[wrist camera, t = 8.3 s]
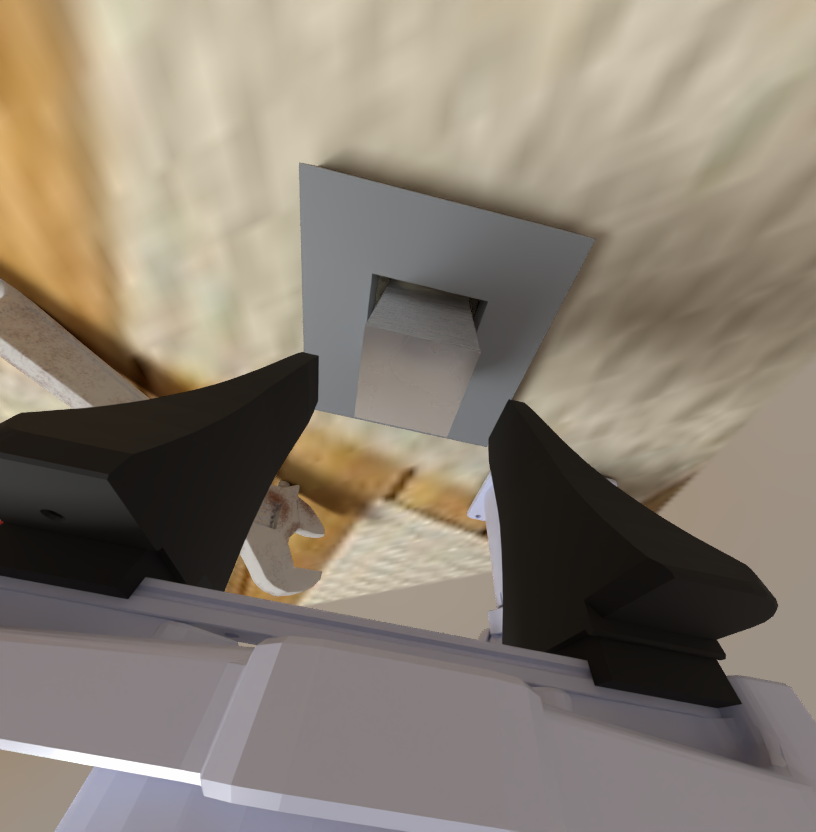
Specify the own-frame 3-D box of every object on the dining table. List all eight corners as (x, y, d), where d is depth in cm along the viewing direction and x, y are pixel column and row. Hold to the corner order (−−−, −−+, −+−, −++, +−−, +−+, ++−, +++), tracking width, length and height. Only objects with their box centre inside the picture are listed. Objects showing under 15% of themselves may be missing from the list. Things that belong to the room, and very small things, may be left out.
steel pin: (467, 294, 15) (480, 352, 10) (445, 361, 18) (447, 437, 12) (393, 276, 15) (364, 325, 10) (381, 346, 18) (354, 416, 12)
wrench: (33, 250, 19) (345, 522, 29) (28, 269, 20) (333, 527, 30) (-202, 261, 12) (308, 609, 22) (-195, 289, 13) (294, 612, 23)
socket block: (577, 233, 13) (595, 239, 12) (483, 427, 21) (486, 447, 19) (316, 165, 13) (299, 162, 11) (316, 390, 20) (305, 407, 18)
